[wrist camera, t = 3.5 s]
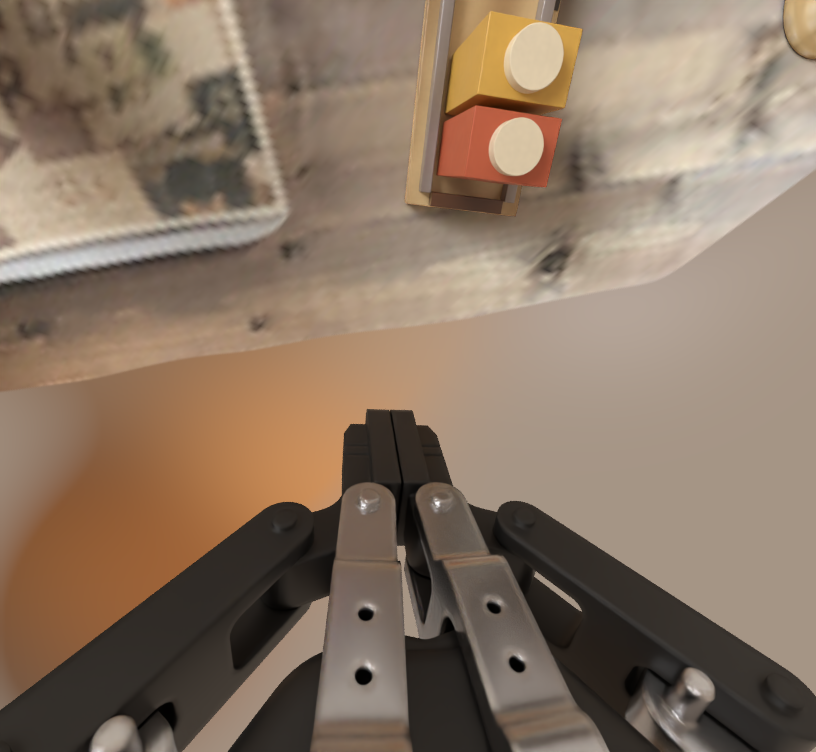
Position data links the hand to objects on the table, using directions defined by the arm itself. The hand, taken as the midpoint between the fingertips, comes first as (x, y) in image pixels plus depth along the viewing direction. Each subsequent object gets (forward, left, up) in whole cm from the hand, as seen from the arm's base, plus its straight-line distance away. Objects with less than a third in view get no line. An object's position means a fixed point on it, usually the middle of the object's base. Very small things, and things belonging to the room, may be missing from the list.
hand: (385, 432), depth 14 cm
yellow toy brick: (+7, +14, -23) cm, 28 cm away
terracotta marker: (+7, +10, -23) cm, 26 cm away
